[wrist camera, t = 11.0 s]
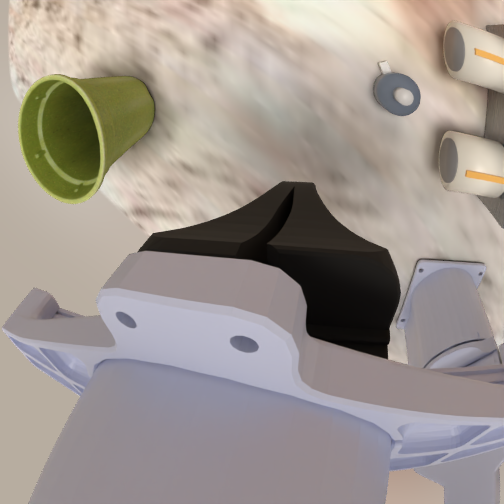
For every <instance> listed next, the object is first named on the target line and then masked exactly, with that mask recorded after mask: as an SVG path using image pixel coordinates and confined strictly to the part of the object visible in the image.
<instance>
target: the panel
mask: <svg viewBox="0 0 504 504" xmlns="http://www.w3.org/2000/svg"><path fill="white" fill-rule="evenodd" d="M486 29H487V32H490V33H492V34H495V35H497V36H500V37H502V38H504V25H489V26H486ZM484 138H486V139H490V140H494V141H497V142H499V143H500V144H501V145H502V146H503V147H504V94H503V93H500V92H497V91H494V90H491V89H488V104H487V117H486V127H485V135H484ZM477 196H478V197H479V199H480V200H481V201H482V202H483V204H484V205H485V206H486V207H487V209H488V210H489V211H490V213H491V214H492V215H493V217H494V218H495V219H496V221H497V222H498V223H499V225H500V226H501V227H502V228H503V229H504V192H503V193H502V194H501V195H500V196H499V197H497V198H492V197H486V196H480V195H477Z"/></svg>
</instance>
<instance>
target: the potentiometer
mask: <svg viewBox="0 0 504 504" xmlns="http://www.w3.org/2000/svg"><path fill="white" fill-rule="evenodd" d="M378 65H379V67H380V70H381V73H382V74H381V75H380V76H379V77H378V78H377V79H376V81H375V83H374V87H373V91H374V95H375V98H376V100H377V101H378V102H379V103H380V104H381V105H382V106H383V107H384V108H385V109H387V110H388V111H389V112H391V113H392V114H395V115H398V116H406V115H409V114H411V113H413V112H414V111H415V110H416V109H417V108H418V106H419V104H420V97H421V96H420V91H419V88H418V86H417V84H416V83H415V82H414V81H413V80H412V79H411V78H410V77H408V76H406V75H403V74H399V73H393V72H391V69H390V67H389V64H388V62H387V61H384V62H380V63H378Z"/></svg>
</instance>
